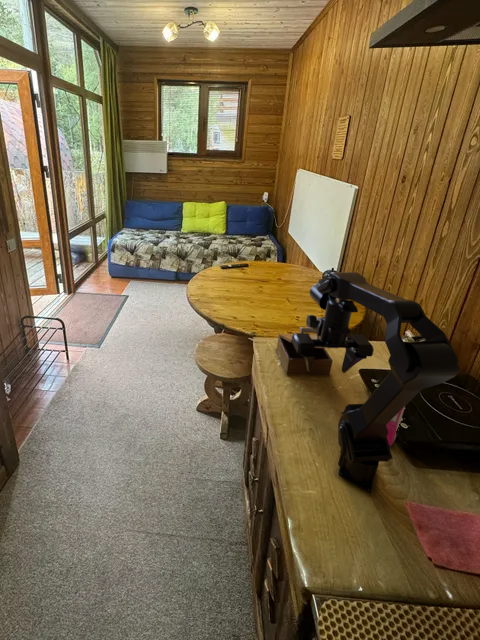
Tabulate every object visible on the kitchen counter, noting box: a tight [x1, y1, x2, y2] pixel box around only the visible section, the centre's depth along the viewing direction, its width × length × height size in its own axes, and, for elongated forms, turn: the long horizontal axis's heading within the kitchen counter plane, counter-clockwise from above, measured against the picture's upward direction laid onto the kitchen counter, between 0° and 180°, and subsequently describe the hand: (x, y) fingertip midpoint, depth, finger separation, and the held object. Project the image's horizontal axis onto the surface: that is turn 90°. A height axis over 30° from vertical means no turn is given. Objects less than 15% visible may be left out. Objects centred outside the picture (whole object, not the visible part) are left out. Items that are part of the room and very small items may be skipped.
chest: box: [276, 335, 334, 377], centre depth 102 cm, size 13×14×6 cm
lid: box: [278, 326, 320, 343], centre depth 100 cm, size 13×14×4 cm
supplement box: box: [386, 406, 406, 448], centre depth 76 cm, size 6×6×12 cm
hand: (325, 371), depth 81 cm, fingers open, 9 cm apart
